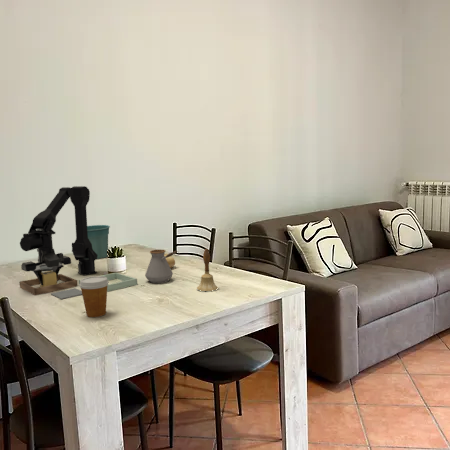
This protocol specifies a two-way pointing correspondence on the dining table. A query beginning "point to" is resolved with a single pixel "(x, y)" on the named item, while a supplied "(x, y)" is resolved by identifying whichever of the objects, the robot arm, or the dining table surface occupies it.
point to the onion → (170, 261)
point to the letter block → (48, 278)
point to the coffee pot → (159, 267)
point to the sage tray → (125, 282)
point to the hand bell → (207, 275)
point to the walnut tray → (36, 291)
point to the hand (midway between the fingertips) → (48, 283)
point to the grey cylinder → (44, 267)
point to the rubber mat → (67, 293)
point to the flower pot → (99, 239)
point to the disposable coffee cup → (94, 295)
